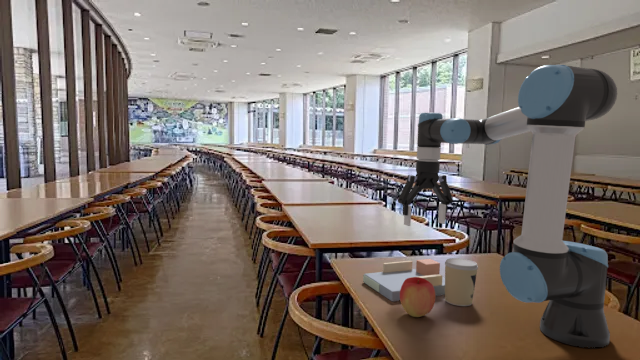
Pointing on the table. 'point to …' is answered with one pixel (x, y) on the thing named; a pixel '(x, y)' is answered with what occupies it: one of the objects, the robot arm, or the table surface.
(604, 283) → the robot arm
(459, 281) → the coffee cup
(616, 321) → the table surface
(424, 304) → the apple
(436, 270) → the block
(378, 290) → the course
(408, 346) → the table surface
